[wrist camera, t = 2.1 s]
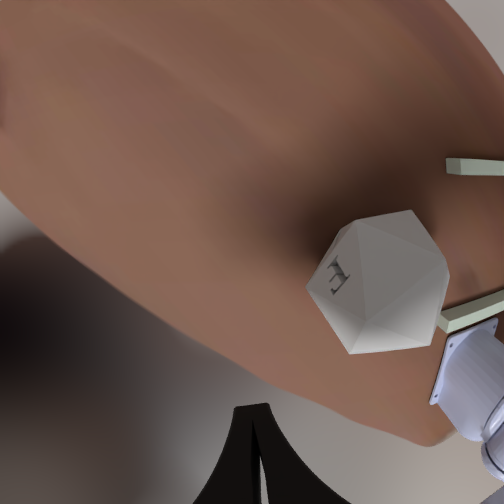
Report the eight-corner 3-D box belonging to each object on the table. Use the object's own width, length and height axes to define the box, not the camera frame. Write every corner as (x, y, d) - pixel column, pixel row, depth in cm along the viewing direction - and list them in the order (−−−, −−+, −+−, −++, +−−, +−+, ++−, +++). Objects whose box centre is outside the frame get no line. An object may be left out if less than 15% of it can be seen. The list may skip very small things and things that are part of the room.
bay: (510, 296, 23) (520, 302, 21) (435, 323, 23) (446, 333, 21) (521, 162, 19) (534, 164, 17) (445, 157, 18) (460, 158, 17)
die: (380, 177, 19) (345, 190, 12) (468, 254, 17) (488, 321, 9) (321, 260, 24) (258, 314, 16) (399, 327, 21) (371, 411, 14)
